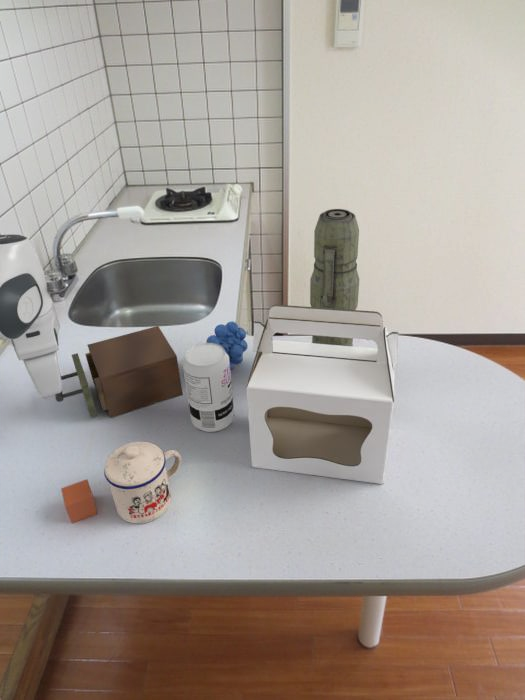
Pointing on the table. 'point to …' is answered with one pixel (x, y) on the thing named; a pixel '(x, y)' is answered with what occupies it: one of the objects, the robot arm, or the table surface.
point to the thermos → (335, 267)
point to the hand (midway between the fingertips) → (52, 386)
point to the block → (79, 501)
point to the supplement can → (208, 387)
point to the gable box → (322, 394)
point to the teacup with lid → (140, 480)
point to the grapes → (230, 341)
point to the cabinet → (136, 370)
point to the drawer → (85, 384)
